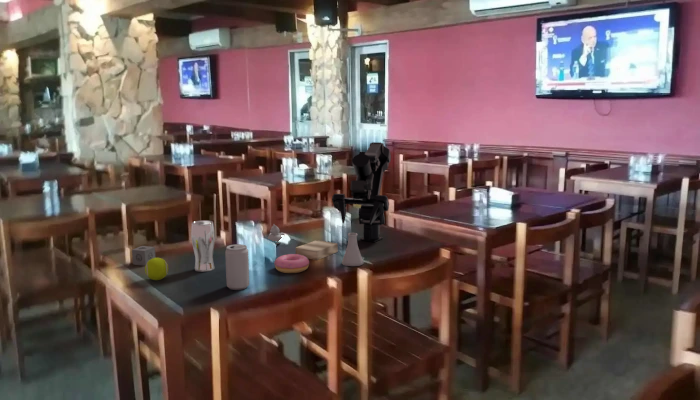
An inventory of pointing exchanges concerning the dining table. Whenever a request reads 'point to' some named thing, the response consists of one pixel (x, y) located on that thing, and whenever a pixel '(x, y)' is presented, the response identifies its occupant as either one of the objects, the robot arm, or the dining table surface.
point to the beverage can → (237, 266)
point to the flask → (352, 252)
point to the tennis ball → (156, 268)
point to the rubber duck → (275, 234)
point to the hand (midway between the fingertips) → (356, 223)
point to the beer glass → (203, 245)
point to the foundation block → (317, 249)
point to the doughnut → (291, 263)
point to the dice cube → (142, 255)
